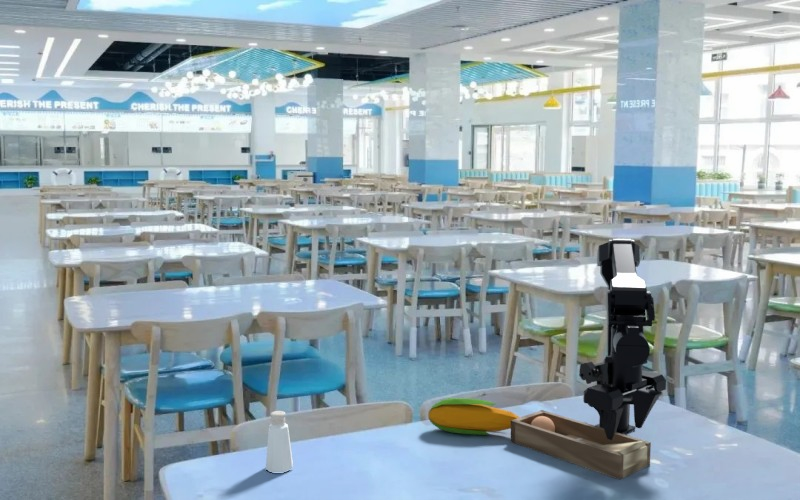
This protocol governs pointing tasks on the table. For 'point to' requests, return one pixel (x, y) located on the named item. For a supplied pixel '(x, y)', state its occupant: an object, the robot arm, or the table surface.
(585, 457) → the brown wooden open box
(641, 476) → the table surface
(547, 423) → the ball
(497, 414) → the corn
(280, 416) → the pepper shaker
